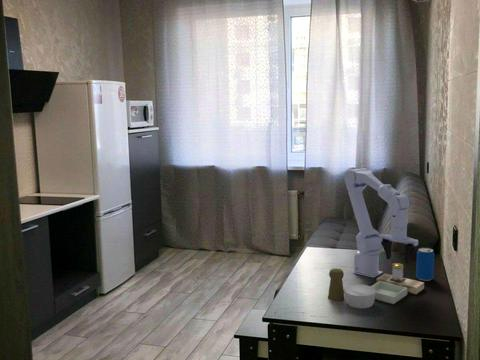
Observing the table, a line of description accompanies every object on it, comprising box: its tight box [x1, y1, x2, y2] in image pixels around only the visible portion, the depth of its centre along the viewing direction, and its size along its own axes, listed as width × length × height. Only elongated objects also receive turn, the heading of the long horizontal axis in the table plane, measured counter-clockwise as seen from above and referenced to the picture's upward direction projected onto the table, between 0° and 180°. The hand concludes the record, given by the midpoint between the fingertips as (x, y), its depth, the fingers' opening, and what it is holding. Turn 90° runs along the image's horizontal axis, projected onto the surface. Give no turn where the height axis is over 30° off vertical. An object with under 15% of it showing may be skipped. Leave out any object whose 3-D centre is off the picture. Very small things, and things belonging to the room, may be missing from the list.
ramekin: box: [343, 283, 376, 309], centre depth 183 cm, size 11×11×5 cm
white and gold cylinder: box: [391, 262, 404, 283], centre depth 198 cm, size 4×4×8 cm
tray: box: [370, 281, 408, 305], centre depth 190 cm, size 11×11×3 cm
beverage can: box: [415, 247, 435, 282], centre depth 205 cm, size 6×6×12 cm
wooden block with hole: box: [376, 273, 425, 295], centre depth 198 cm, size 16×7×2 cm, turn 48°
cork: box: [327, 268, 346, 302], centre depth 188 cm, size 6×6×11 cm
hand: (398, 260), depth 197 cm, fingers open, 7 cm apart
